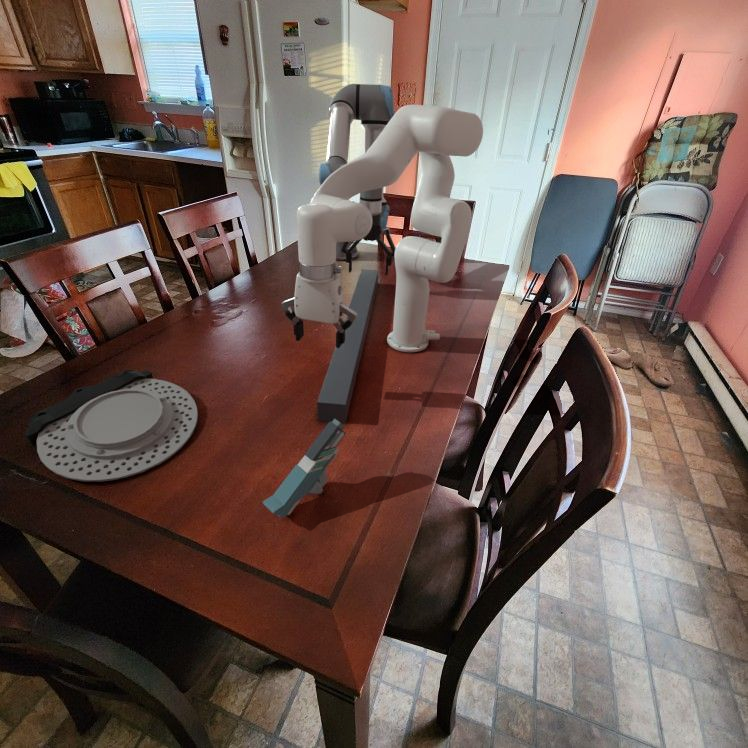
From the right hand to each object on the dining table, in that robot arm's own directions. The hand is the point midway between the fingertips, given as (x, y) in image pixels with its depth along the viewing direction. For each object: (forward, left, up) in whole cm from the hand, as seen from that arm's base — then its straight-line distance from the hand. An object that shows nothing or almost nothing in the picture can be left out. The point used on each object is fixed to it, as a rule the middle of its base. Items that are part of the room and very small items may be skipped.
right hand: (319, 341), depth 94 cm
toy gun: (-1, +31, -15) cm, 34 cm away
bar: (-8, -31, -15) cm, 35 cm away
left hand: (-11, -66, -8) cm, 67 cm away
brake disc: (+42, +14, -15) cm, 47 cm away
